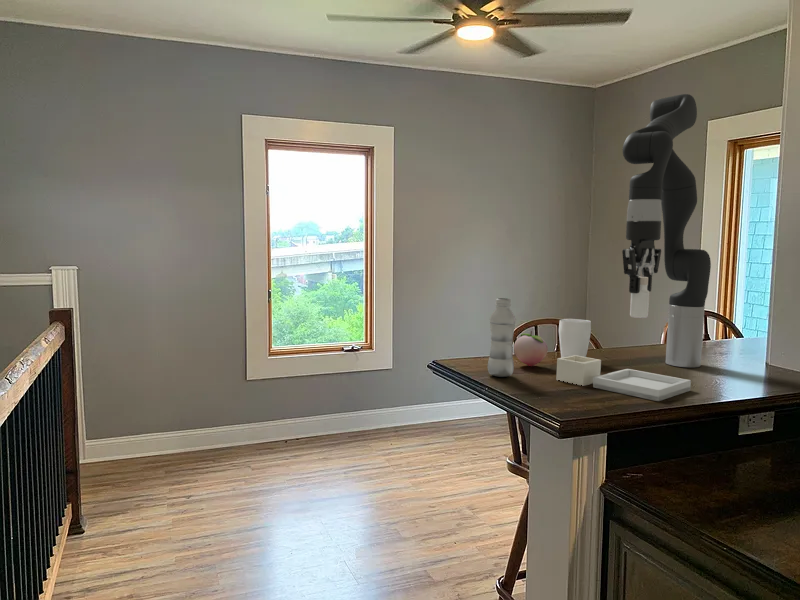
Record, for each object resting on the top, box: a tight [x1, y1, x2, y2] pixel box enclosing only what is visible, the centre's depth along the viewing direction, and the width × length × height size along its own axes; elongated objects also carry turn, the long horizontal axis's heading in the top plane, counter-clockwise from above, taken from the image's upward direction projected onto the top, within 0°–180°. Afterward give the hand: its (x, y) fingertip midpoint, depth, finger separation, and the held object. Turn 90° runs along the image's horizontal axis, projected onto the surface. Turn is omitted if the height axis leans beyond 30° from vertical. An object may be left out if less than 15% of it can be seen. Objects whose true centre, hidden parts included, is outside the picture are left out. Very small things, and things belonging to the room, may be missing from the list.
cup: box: [558, 318, 592, 358], centre depth 175 cm, size 9×9×12 cm
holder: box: [555, 355, 602, 387], centre depth 150 cm, size 8×8×6 cm
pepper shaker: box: [629, 276, 650, 319], centre depth 142 cm, size 4×4×10 cm
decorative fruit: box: [513, 330, 549, 367], centre depth 166 cm, size 9×8×10 cm
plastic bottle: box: [487, 297, 517, 378], centre depth 153 cm, size 6×7×20 cm
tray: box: [592, 368, 692, 402], centre depth 143 cm, size 16×16×2 cm
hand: (640, 292), depth 142 cm, fingers closed on pepper shaker, 5 cm apart
